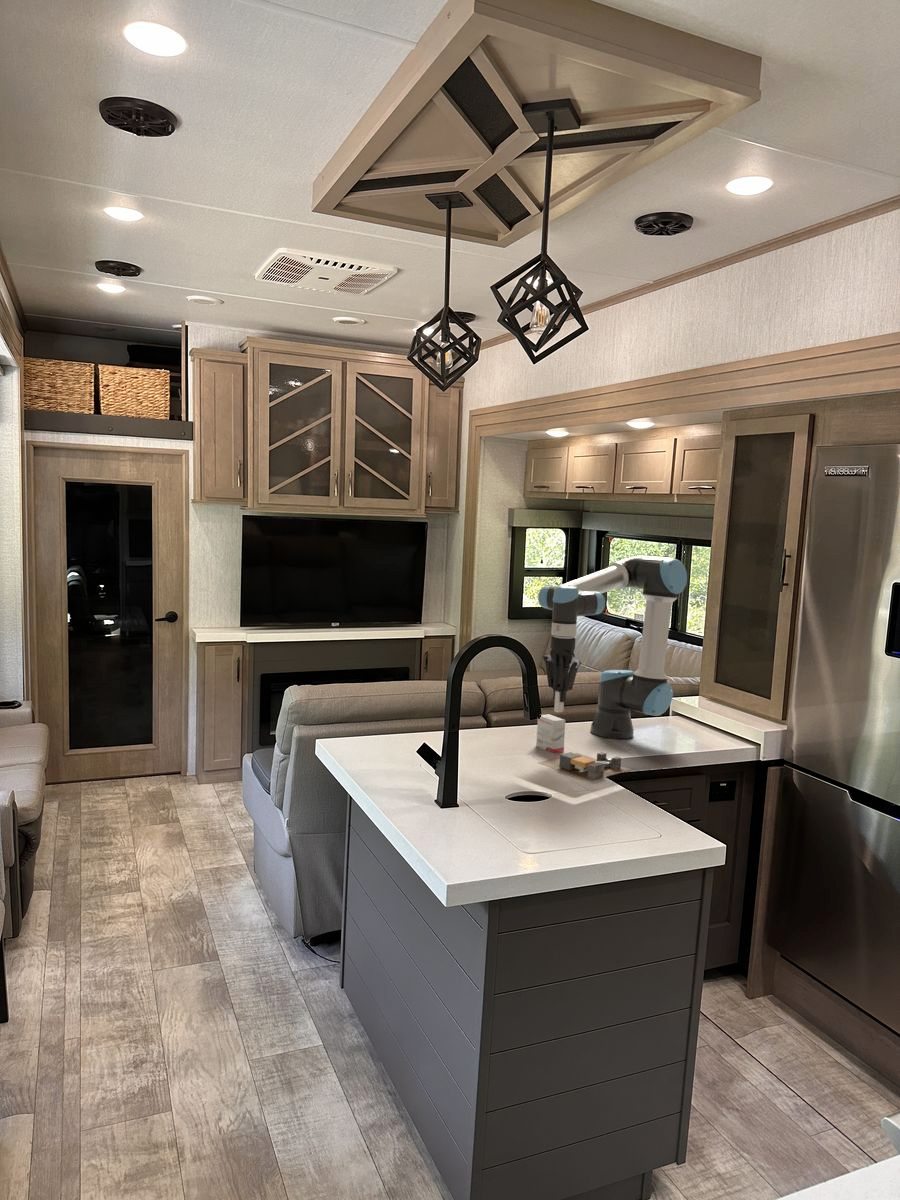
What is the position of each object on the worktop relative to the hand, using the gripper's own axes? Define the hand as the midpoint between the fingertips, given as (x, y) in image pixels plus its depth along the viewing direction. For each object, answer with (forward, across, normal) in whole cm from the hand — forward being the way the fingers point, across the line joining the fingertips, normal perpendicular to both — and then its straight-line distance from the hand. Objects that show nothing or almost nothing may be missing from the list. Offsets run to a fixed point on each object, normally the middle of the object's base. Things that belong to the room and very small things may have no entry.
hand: (558, 711), depth 257 cm
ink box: (+16, -6, +4) cm, 18 cm away
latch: (+14, +13, -8) cm, 21 cm away
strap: (+13, +16, -2) cm, 21 cm away
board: (+16, +12, -2) cm, 20 cm away
